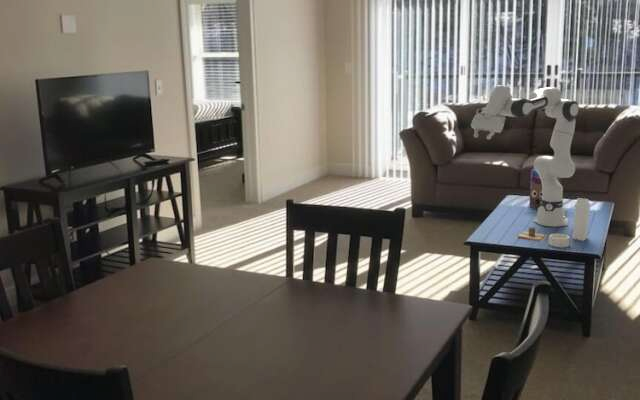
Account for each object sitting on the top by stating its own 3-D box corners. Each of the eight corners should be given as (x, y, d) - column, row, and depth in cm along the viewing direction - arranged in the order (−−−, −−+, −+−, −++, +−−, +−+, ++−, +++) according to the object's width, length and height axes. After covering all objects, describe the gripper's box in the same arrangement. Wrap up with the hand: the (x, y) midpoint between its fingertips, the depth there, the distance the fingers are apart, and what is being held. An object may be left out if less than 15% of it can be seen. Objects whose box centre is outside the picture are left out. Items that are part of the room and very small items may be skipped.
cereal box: (529, 206, 441) (531, 169, 436) (531, 205, 445) (533, 168, 439) (557, 209, 432) (559, 172, 427) (559, 208, 436) (561, 170, 431)
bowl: (551, 242, 364) (551, 232, 363) (570, 244, 359) (571, 235, 358) (546, 246, 356) (547, 237, 354) (566, 249, 351) (567, 239, 350)
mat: (522, 232, 381) (522, 232, 381) (548, 236, 374) (548, 235, 374) (514, 238, 370) (515, 238, 370) (541, 242, 363) (541, 241, 362)
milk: (576, 236, 373) (578, 196, 368) (587, 238, 369) (590, 198, 364) (572, 239, 368) (575, 198, 363) (584, 240, 364) (587, 200, 360)
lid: (523, 232, 380) (523, 223, 379) (545, 235, 374) (546, 226, 373) (517, 238, 370) (517, 229, 369) (540, 241, 364) (540, 231, 363)
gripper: (510, 118, 353) (499, 142, 353) (482, 114, 371) (472, 138, 370) (502, 112, 350) (492, 137, 349) (474, 109, 367) (464, 133, 367)
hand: (481, 137), depth 360 cm, fingers open, 8 cm apart
